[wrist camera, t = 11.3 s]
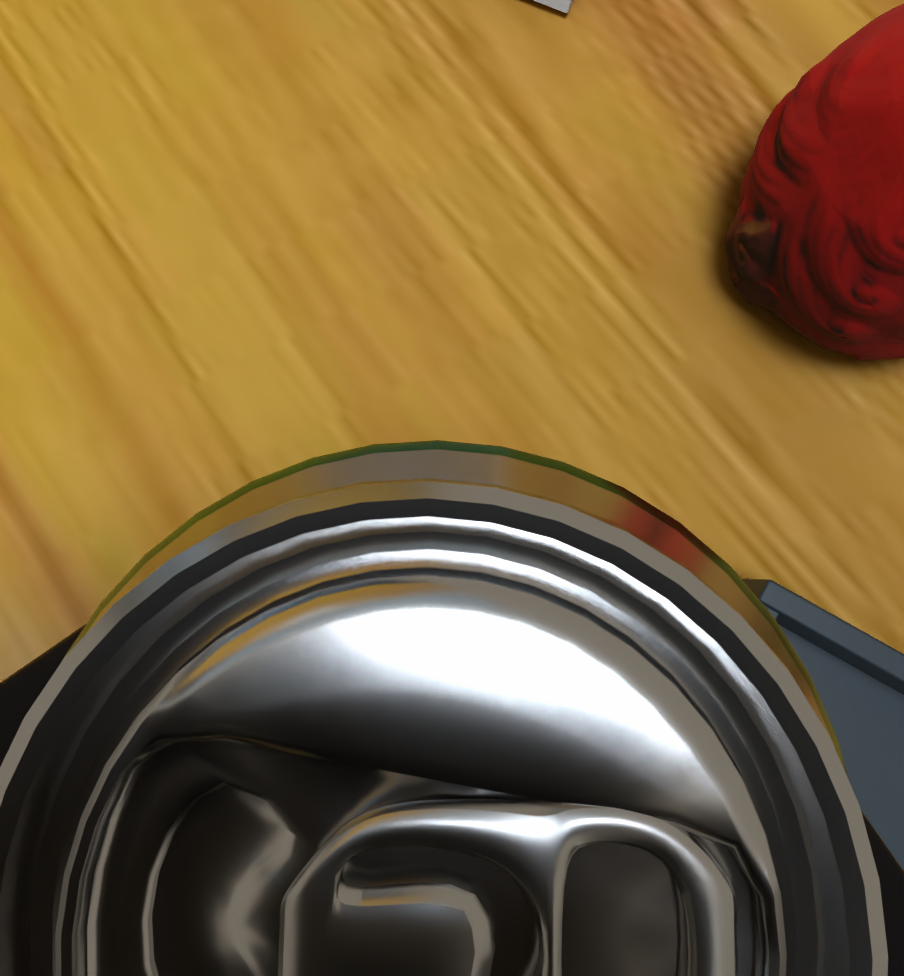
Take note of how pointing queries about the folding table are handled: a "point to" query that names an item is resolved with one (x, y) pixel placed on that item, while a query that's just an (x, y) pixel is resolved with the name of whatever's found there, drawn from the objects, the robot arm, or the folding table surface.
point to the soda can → (433, 746)
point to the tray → (853, 702)
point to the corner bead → (557, 4)
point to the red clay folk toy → (832, 200)
